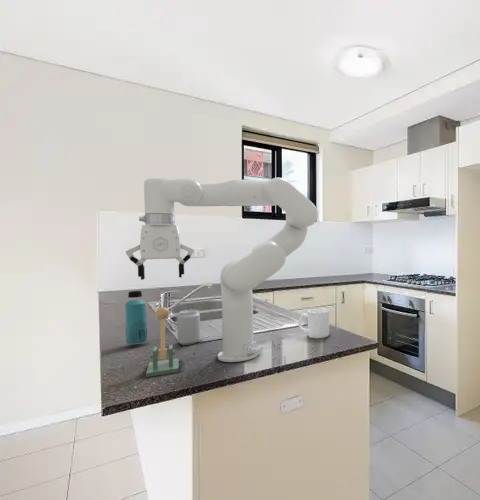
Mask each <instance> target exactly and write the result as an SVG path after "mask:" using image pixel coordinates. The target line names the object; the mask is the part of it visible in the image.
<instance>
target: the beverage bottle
mask: <svg viewBox="0 0 480 500" xmlns="http://www.w3.org/2000/svg"><path fill="white" fill-rule="evenodd" d="M142 293H143V292H142V290H131V291H128V296H127V297H128V299H130V298H141V297H143V294H142ZM146 304H147V303H146V301H145V300H143V299H131V300H128V301H127V302H126V303H125V304H124V309H125V327H124V328H125V341H126V343H127V344H129V345H135V344H141V343H145V342H146V341H147V340H148V328H147V309H146V307H147V306H146Z"/></svg>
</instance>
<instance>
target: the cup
mask: <svg viewBox="0 0 480 500" xmlns="http://www.w3.org/2000/svg"><path fill="white" fill-rule="evenodd" d="M303 318H307V328H304V327H303V323H302V321H303ZM298 328H299V329H300V331H302V332H304V333H307V336H308V337H309V338H311V339H324V338H328V337H329V335H330V309H329V308H312V309H308V310H307V313H302V314H300V316H299V318H298Z"/></svg>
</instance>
